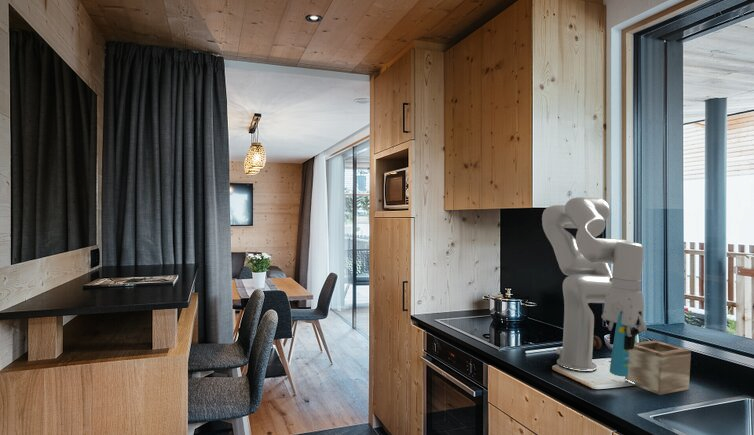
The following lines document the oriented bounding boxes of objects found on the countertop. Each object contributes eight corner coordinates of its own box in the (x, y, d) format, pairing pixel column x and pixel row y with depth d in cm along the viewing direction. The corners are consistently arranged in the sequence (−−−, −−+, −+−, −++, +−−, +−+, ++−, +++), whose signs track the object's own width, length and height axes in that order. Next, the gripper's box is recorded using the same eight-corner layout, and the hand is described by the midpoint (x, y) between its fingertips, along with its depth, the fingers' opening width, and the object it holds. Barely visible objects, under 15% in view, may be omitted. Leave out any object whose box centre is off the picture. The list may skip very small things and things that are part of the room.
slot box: (624, 381, 152) (626, 343, 152) (653, 376, 158) (655, 340, 158) (660, 394, 142) (662, 354, 141) (688, 389, 147) (691, 350, 147)
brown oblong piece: (567, 356, 183) (594, 351, 190) (576, 353, 179) (604, 348, 186) (561, 341, 186) (588, 336, 193) (570, 337, 182) (598, 333, 189)
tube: (624, 379, 136) (630, 313, 135) (606, 374, 140) (611, 309, 138) (631, 372, 142) (636, 308, 141) (613, 368, 145) (618, 305, 144)
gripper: (592, 279, 145) (588, 339, 146) (644, 291, 130) (639, 357, 131) (609, 278, 148) (605, 337, 149) (662, 290, 133) (657, 354, 134)
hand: (621, 345), depth 140 cm, fingers closed on tube, 4 cm apart
